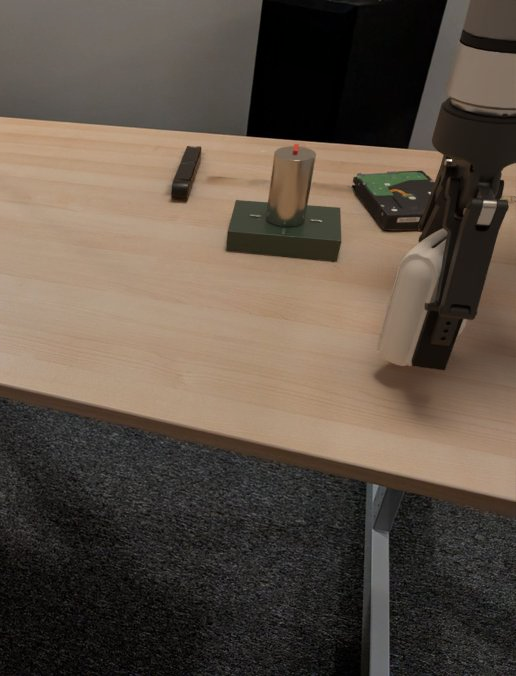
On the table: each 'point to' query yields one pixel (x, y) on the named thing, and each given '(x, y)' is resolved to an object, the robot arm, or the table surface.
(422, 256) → the photo printer
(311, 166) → the dial
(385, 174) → the disk drive
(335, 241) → the green base plate
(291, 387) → the table surface
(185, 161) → the black bar
